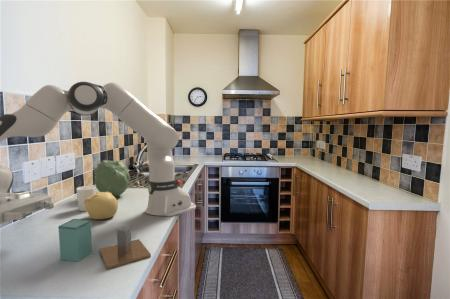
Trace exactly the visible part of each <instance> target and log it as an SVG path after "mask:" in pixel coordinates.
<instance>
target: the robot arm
mask: <svg viewBox="0 0 450 299" xmlns="http://www.w3.org/2000/svg"><path fill="white" fill-rule="evenodd" d="M99 109H105V110H107V111H108V112H110V113H112V114H113V115H114V116H115V117H116V118H118V120H120V121H121V122H123V124H125V125H126V126H128V127H129V129H131V130H132V131H133V132H135V133H137V135H139V136H140V137H142V138H143V139H144V140H146V150H147V152H146V153H147V158H148V159H147V160H148V178H149V180H148V183H147V184H148V185H147V190H148V201H147V206H146V210H145V213H147V214H149V215H152V216H163V217H164V216H165V217H173V216H177V215H180V214H183V213H186V212H190V211H193V210H196V208H197V206H196V204H195V203H194V202H192V200H191V196H190V194H189V192H187V191H186V190H184V189H183V188H181V187H180V186H182V184H183V181H182V180H178V179H176V178H175V161H174V156H173V152H172V151H173V150H172V149H174V148H175V147H176V146H178V143H179V133H178V132H177V131H176V129H175V128H174V127H172V126H171V125H170V124H169V123H167V122H166V121H165V120H164V119H163V118H161V117H160V116H158V115H157V114H156V113H154V112H153V111H152V110H150V109H149V108H148V107H146V105H145V104H143V103H142V102H141V101H140V100H139V99H138V98H137V97H135V96H134V95H133V94H132V93H131V92H129V90H127V89H125V88H124V87H122V85H119V84H117V83H116V82H109V83H106V84H104V85H99V84H96V83H92V82H88V81H78V82H76V83H74V84H73V85H72V86H70V88H69V89H68V90H65V89H63V88H60V87H59V86H55V85H52V84H47V85H44V86H42V87H41V88H40V89H38V90H37V91H36V92H35V93H33V95H32V96H31V97H30V98H28V100H27V101H26V102H25V104H23V106H22V107H21V108H19V109H18V110H16V111H15V112H12V113H6V114H2V115H0V143H1V142H2V141H4V140H5V139H8V138H9V139H10V138H13V137H23V138H24V137H25V138H26V137H27V138H39V137H43V136H46V135H48V134H49V133H51V131H52V130H53V129H54V128H55V127H56V125H57V124H58V123H59V121H60V120H61V118H62V117H63V116H64V115H65V114H66V113H67V112H68V113H71V114H72V113H73V114H75V115H79V116H91V115H93V114H95V113H96V112H97V111H98V110H99ZM13 183H14V174H13V171H12V170H11V169H10V168H9V167H7V166H3V165H1V164H0V225H1V224H5V223H7V222H9V221H11V222H12V221H21V220H25V219H26V218H27V215H30V214H32V213H36V212H38V211H41V210H51V209H53V208H54V207H55V206H54V202H52V196H51V195H49V194H47V193H46V194H45V193H37V192H31V193H30V191H28V190H23V191H22V190H21V191H20V190H19V191H13V192H10V191H11V189H12V186H13Z"/></svg>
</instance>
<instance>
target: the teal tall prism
mask: <svg viewBox="0 0 450 299" xmlns="http://www.w3.org/2000/svg"><path fill="white" fill-rule="evenodd" d="M58 238H59V239H58V241H59V242H58V243H59V258H60V261H62V260H63V261H69V262H77V263H78V262H80V261H81V260H83V259H85V257H87V256H88V255H89V254H91V253H92V252H93V241H92V240H93V238H92V220H91V219H80V218H73V219H71V220H68V221H67V222H65V223H62V224H61V225H59V226H58Z"/></svg>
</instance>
